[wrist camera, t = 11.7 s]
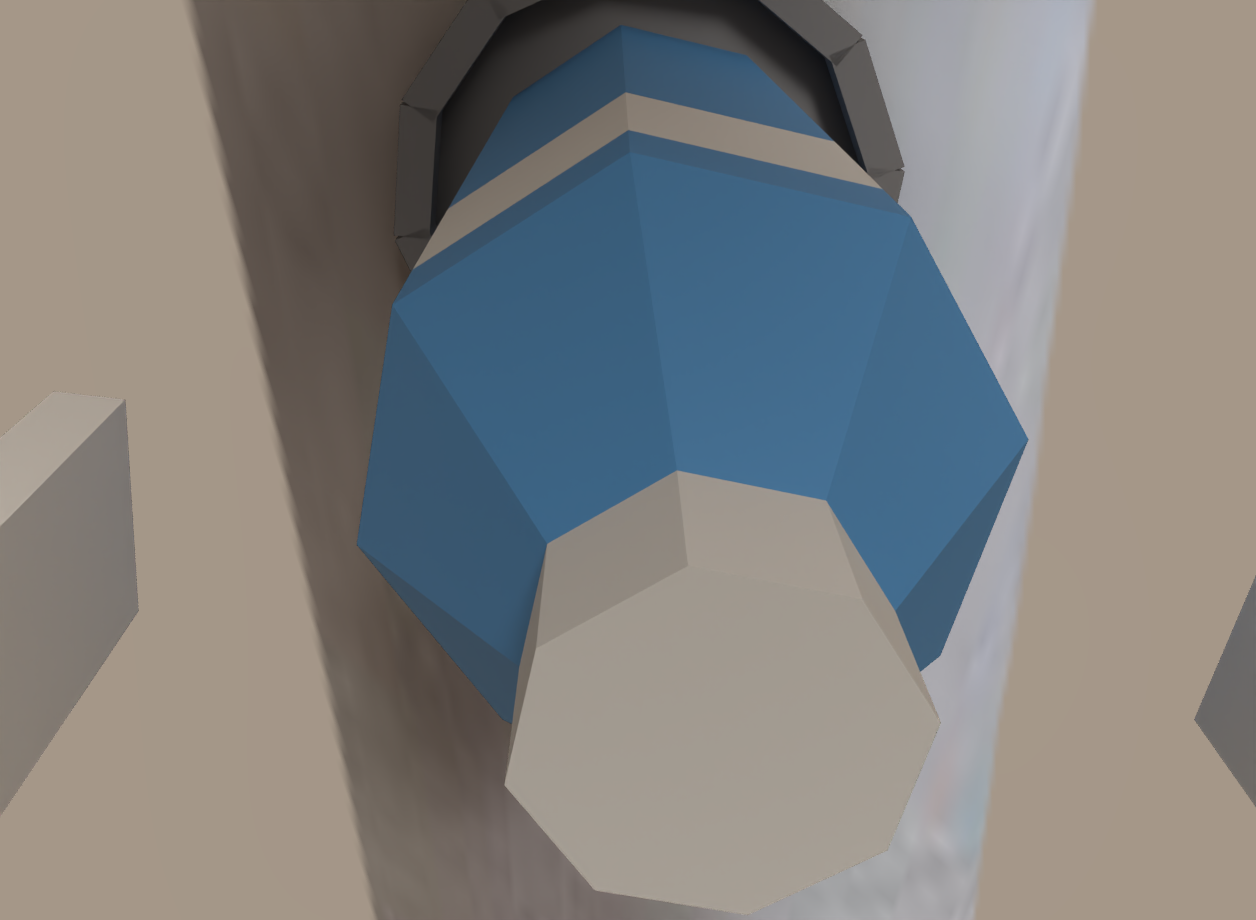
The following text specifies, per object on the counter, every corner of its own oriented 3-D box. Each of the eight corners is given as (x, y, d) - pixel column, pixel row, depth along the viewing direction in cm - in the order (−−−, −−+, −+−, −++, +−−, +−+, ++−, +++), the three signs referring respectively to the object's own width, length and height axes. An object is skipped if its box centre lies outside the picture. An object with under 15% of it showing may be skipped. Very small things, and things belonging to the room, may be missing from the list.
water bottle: (523, 368, 36) (367, 1136, 13) (454, 54, 32) (62, 376, 9) (823, 319, 35) (1204, 1032, 13) (790, -7, 31) (1252, 176, 9)
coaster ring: (419, -106, 31) (410, -107, 29) (935, -32, 32) (950, -29, 30) (394, 385, 36) (385, 403, 35) (830, 435, 37) (839, 456, 36)
